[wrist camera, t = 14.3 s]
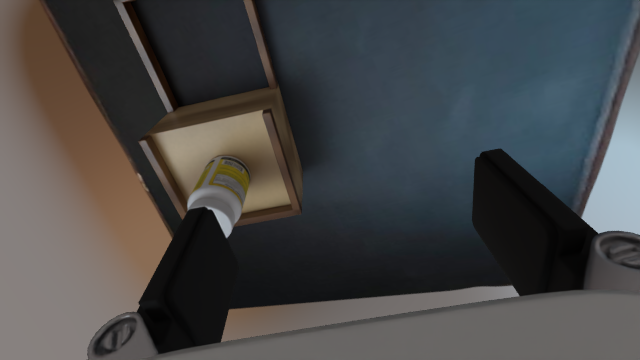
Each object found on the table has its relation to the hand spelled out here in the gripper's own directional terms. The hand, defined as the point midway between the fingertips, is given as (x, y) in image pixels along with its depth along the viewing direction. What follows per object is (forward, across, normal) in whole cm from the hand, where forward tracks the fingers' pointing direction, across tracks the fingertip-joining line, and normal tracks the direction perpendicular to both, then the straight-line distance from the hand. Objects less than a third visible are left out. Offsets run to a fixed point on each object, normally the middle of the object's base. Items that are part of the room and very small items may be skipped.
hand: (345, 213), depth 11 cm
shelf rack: (+28, +12, +2) cm, 31 cm away
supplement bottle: (+20, +12, +8) cm, 25 cm away
